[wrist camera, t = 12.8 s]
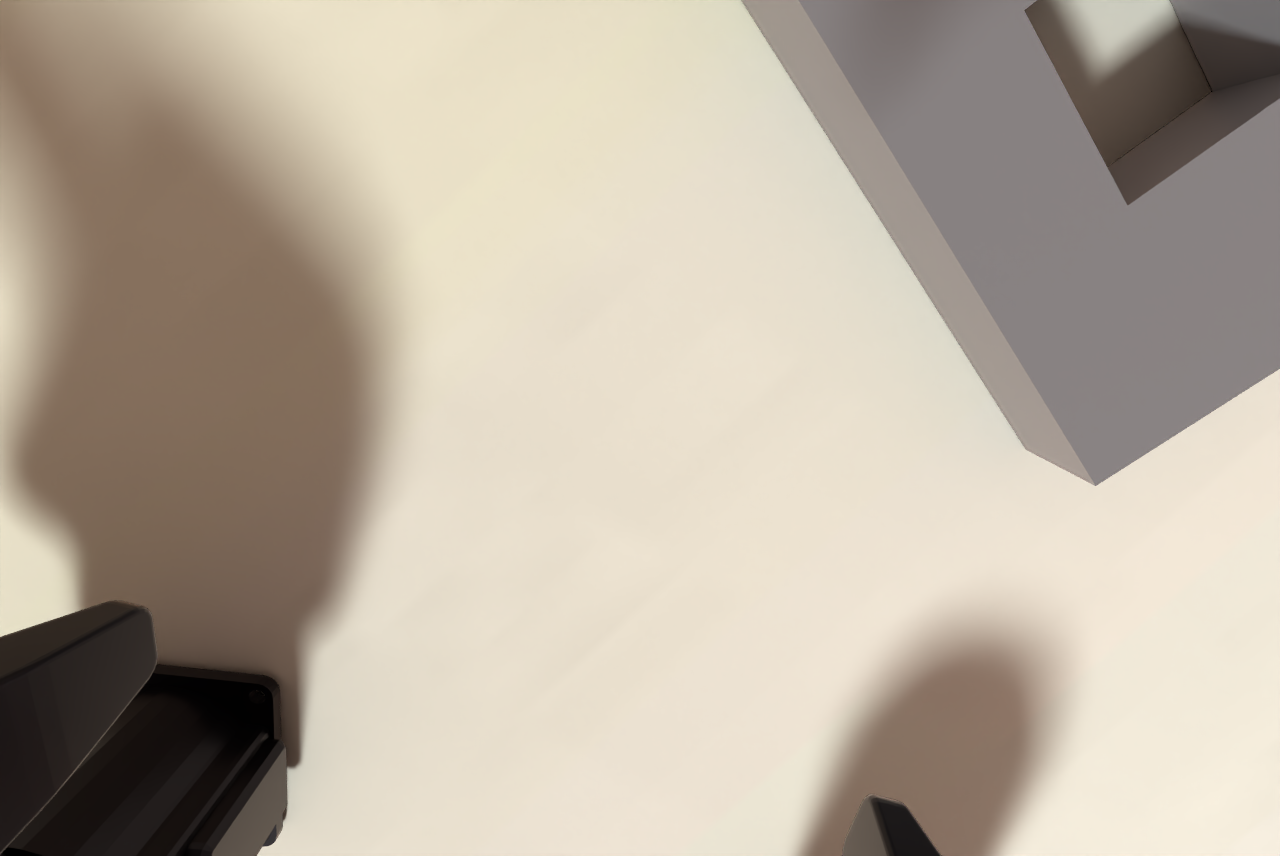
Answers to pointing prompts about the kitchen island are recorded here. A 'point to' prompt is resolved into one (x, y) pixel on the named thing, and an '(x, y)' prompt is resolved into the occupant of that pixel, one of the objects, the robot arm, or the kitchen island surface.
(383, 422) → the kitchen island surface
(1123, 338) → the socket board
